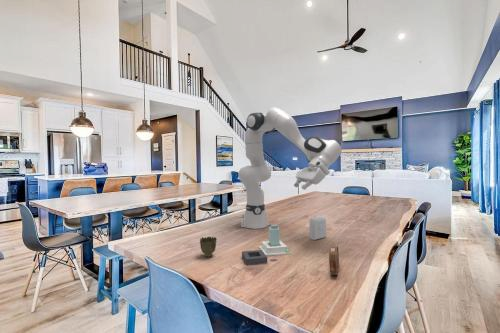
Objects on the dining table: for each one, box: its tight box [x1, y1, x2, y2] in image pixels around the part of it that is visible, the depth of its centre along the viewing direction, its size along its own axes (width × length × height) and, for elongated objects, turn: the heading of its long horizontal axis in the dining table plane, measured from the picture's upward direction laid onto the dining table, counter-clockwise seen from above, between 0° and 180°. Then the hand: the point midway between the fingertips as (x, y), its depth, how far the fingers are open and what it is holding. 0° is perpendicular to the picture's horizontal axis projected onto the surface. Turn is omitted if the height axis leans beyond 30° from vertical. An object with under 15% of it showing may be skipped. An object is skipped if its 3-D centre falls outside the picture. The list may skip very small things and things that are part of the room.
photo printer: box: [308, 214, 327, 241], centre depth 141 cm, size 10×4×12 cm, turn 123°
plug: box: [268, 224, 281, 247], centre depth 123 cm, size 4×4×11 cm
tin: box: [328, 245, 340, 276], centre depth 101 cm, size 15×3×8 cm, turn 158°
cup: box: [199, 236, 218, 258], centre depth 116 cm, size 8×7×8 cm
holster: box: [241, 249, 268, 266], centre depth 111 cm, size 9×9×2 cm
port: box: [258, 240, 292, 257], centre depth 123 cm, size 12×12×3 cm
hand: (298, 187), depth 127 cm, fingers open, 8 cm apart
